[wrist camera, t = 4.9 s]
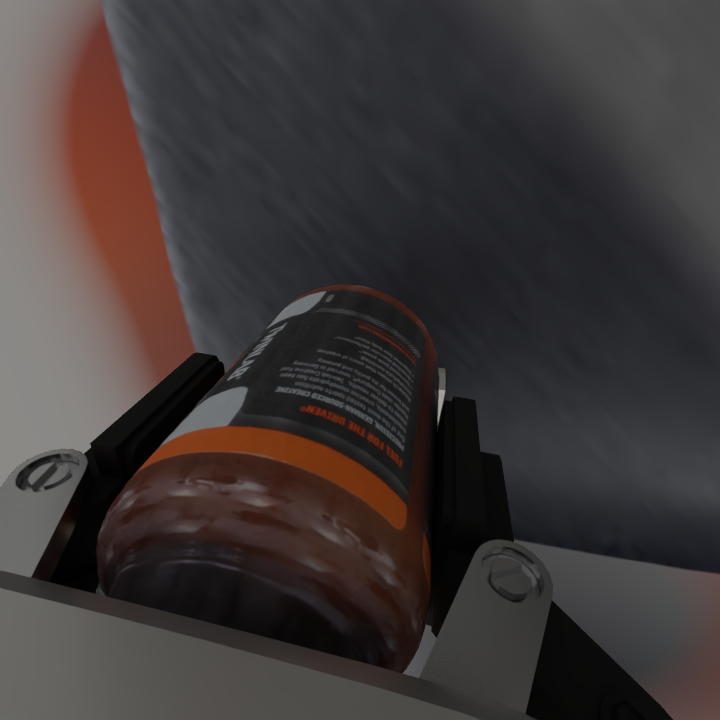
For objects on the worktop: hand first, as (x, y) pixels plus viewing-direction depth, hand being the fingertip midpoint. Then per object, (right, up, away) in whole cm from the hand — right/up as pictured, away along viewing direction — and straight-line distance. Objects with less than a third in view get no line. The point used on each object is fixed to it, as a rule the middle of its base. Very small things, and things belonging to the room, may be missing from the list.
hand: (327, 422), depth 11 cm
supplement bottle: (+1, +2, +3) cm, 4 cm away
